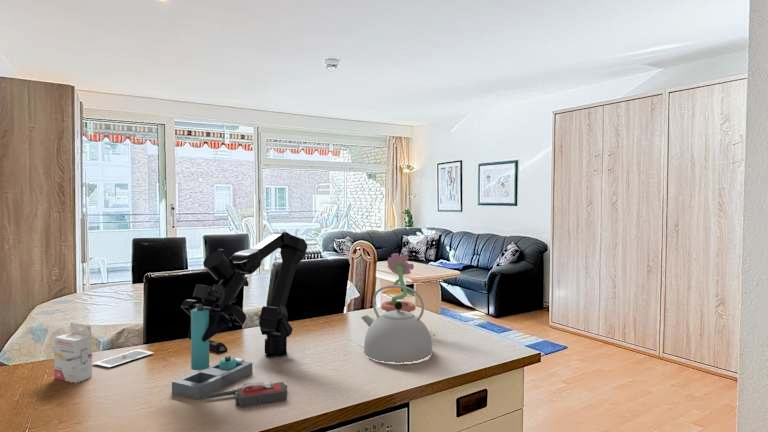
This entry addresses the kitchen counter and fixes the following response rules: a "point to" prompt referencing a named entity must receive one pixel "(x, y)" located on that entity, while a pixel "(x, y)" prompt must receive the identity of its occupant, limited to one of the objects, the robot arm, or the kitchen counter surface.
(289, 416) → the kitchen counter surface
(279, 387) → the walkie-talkie
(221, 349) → the electric trimmer
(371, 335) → the kettle
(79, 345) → the ink cartridge box
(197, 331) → the plug
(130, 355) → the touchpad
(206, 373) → the grey holder base
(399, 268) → the decorative flower
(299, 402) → the kitchen counter surface
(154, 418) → the kitchen counter surface
